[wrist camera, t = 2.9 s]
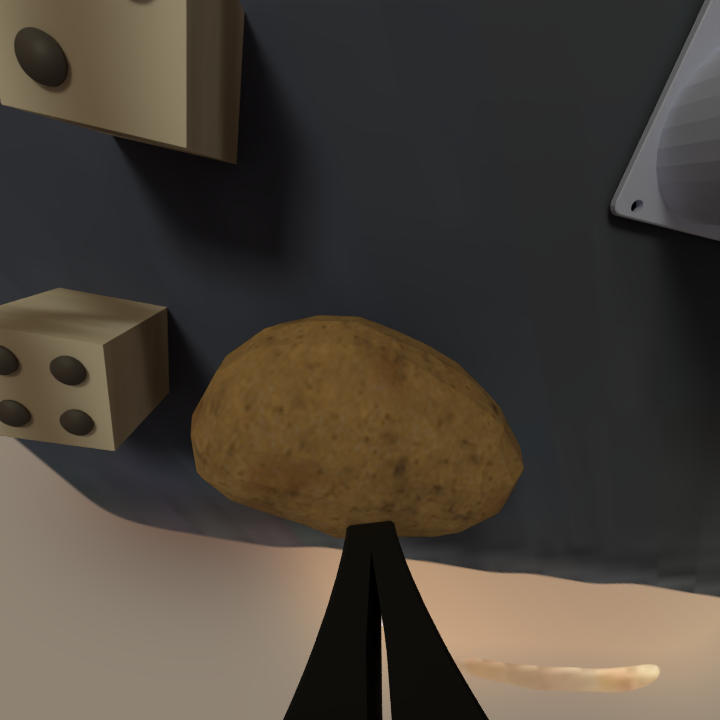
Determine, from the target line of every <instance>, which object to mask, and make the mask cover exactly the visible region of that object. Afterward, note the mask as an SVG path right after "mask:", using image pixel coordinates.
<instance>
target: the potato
mask: <svg viewBox="0 0 720 720" xmlns="http://www.w3.org/2000/svg"><path fill="white" fill-rule="evenodd" d="M191 440H192V447H193V453H194V459H195V465H196V471H197V473H198V474H199V475H200V476H201V477H202V478H203V479H204V480H205V481H207V482H208V483H209V484H210V485H212V486H213V487H214V488H216V489H217V490H218V491H220V492H221V493H222V494H223V495H225V496H226V497H227V498H229V499H230V500H232V501H234V502H237V503H240V504H243V505H246V506H249V507H252V508H255V509H257V510H260V511H263V512H266V513H269V514H272V515H276V516H279V517H282V518H285V519H288V520H291V521H294V522H297V523H300V524H304V525H306V526H309V527H311V528H314V529H316V530H319V531H321V532H324V533H326V534H329V535H331V536H333V537H336V538H345V536H346V528H347V527H348V526H349V525H356V524H365V523H373V522H382V521H392V522H394V523H395V528H396V532H397V536H398V537H403V536H406V537H435V536H441V535H447V534H453V533H459V532H462V531H464V530H466V529H468V528H470V527H472V526H474V525H476V524H478V523H480V522H482V521H484V520H486V519H488V518H490V517H492V516H494V515H496V514H498V513H499V512H500V510H501V509H502V507H503V506H504V504H505V503H506V501H507V500H508V498H509V496H510V494H511V492H512V490H513V488H514V487H515V485H516V483H517V481H518V479H519V477H520V475H521V473H522V472H523V470H524V466H523V460H522V455H521V449H520V446H519V444H518V442H517V440H516V438H515V436H514V434H513V432H512V430H511V428H510V426H509V424H508V422H507V420H506V418H505V416H504V414H503V413H502V411H501V409H500V407H499V406H498V404H497V403H496V402H495V401H494V400H493V399H492V398H491V397H490V395H489V394H488V393H487V392H486V391H485V390H484V389H483V388H482V387H481V386H480V385H479V384H478V383H477V382H476V381H475V380H474V379H473V378H472V377H471V376H470V375H469V374H468V373H467V372H466V371H465V370H464V369H463V368H462V367H461V366H460V365H459V364H458V363H457V362H455V361H453V360H452V359H450V358H448V357H447V356H445V355H443V354H442V353H440V352H438V351H437V350H435V349H433V348H432V347H430V346H428V345H426V344H424V343H422V342H419V341H417V340H415V339H413V338H411V337H409V336H407V335H404V334H402V333H400V332H398V331H396V330H393V329H391V328H388V327H385V326H383V325H380V324H377V323H375V322H372V321H369V320H367V319H364V318H361V317H353V316H325V315H318V316H313V317H309V318H304V319H299V320H295V321H290V322H286V323H281V324H278V325H274V326H271V327H268V328H265V329H263V330H262V331H261V332H259V333H258V334H256V335H255V336H253V337H252V338H251V339H249V340H248V341H246V342H245V343H244V344H242V345H241V346H239V347H238V348H237V349H235V350H234V351H232V352H231V353H230V354H228V355H227V356H226V357H225V359H224V360H223V362H222V364H221V365H220V367H219V368H218V370H217V372H216V373H215V375H214V377H213V378H212V380H211V382H210V384H209V386H208V388H207V389H206V391H205V393H204V395H203V397H202V398H201V400H200V402H199V404H198V406H197V407H196V409H195V411H194V413H193V415H192V423H191Z"/></svg>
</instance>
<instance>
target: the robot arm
mask: <svg viewBox="0 0 720 720" xmlns="http://www.w3.org/2000/svg"><path fill="white" fill-rule="evenodd" d="M635 201H636V208H635V209H634V210H633V211H631V206H632V204H633V203H634V202H635ZM610 211H611V212H612V214H614V215H616V216H620V217H624V218H628V219H632V220H636V221H640V222H644V223H648V224H652V225H656V226H660V227H664V228H668V229H672V230H676V231H680V232H684V233H689V234H693V235H697V236H701V237H705V238H709V239H713V240H717V241H720V0H705V1H704V3H703V6H702V8H701V10H700V12H699V14H698V16H697V18H696V21H695V23H694V25H693V27H692V29H691V31H690V33H689V36H688V38H687V40H686V42H685V44H684V46H683V49H682V51H681V53H680V55H679V57H678V59H677V61H676V64H675V66H674V68H673V70H672V72H671V74H670V76H669V79H668V81H667V83H666V85H665V87H664V89H663V91H662V94H661V96H660V98H659V100H658V102H657V104H656V107H655V109H654V111H653V113H652V115H651V117H650V119H649V122H648V124H647V126H646V128H645V130H644V132H643V134H642V137H641V139H640V141H639V143H638V145H637V147H636V149H635V152H634V154H633V156H632V158H631V160H630V162H629V165H628V167H627V169H626V171H625V173H624V175H623V177H622V180H621V182H620V184H619V186H618V188H617V190H616V192H615V195H614V197H613V199H612V201H611V204H610ZM381 614H382V620H383V626H384V633H385V642H386V649H387V661H388V674H389V688H390V701H391V715H392V720H489V719H488V718H487V716H486V714H485V713H484V711H483V710H482V708H481V706H480V705H479V703H478V701H477V699H476V698H475V696H474V695H473V693H472V691H471V689H470V688H469V686H468V684H467V683H466V681H465V679H464V677H463V676H462V674H461V672H460V670H459V669H458V667H457V665H456V663H455V662H454V660H453V658H452V656H451V655H450V653H449V651H448V649H447V647H446V645H445V644H444V642H443V640H442V638H441V636H440V634H439V632H438V630H437V628H436V626H435V624H434V622H433V620H432V618H431V616H430V614H429V612H428V610H427V608H426V606H425V604H424V602H423V600H422V597H421V595H420V593H419V591H418V589H417V586H416V584H415V582H414V580H413V578H412V575H411V573H410V570H409V568H408V565H407V563H406V560H405V557H404V555H403V552H402V549H401V546H400V543H399V540H398V536H397V532H396V528H395V523H394V522H392V521H382V522H373V523H365V524H356V525H349V526H348V527H347V528H346V536H345V542H344V547H343V552H342V556H341V561H340V565H339V569H338V572H337V577H336V580H335V583H334V586H333V590H332V593H331V596H330V600H329V603H328V606H327V609H326V613H325V616H324V618H323V621H322V624H321V627H320V630H319V632H318V636H317V638H316V641H315V644H314V647H313V649H312V652H311V655H310V657H309V660H308V662H307V665H306V667H305V670H304V672H303V675H302V677H301V680H300V682H299V685H298V687H297V689H296V692H295V694H294V697H293V699H292V701H291V704H290V706H289V708H288V710H287V712H286V714H285V717H284V719H283V720H382V663H381V662H382V661H381V660H382V657H381Z"/></svg>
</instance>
